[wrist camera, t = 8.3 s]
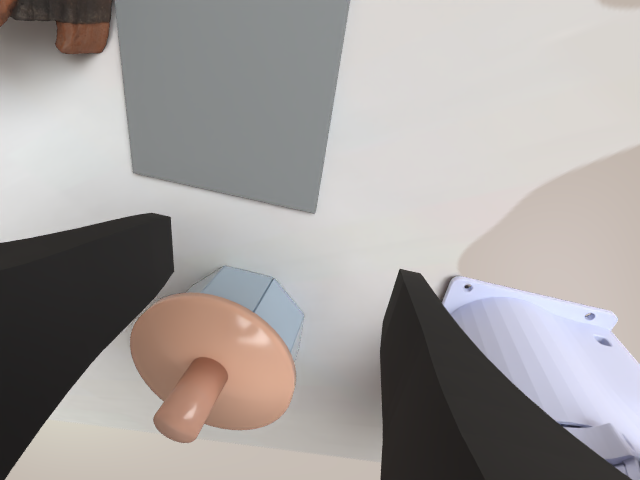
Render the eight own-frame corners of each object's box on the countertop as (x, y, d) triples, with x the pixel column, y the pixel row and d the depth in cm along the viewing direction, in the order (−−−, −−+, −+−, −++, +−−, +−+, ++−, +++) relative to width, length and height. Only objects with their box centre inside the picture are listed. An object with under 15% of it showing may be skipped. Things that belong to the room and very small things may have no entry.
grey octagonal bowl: (309, 286, 23) (289, 335, 19) (294, 374, 27) (275, 431, 23) (191, 257, 24) (145, 297, 20) (193, 346, 28) (156, 396, 24)
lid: (303, 314, 18) (278, 380, 14) (290, 434, 23) (269, 508, 19) (126, 276, 19) (59, 327, 15) (149, 397, 24) (103, 460, 20)
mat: (355, -33, 15) (354, -36, 15) (315, 211, 21) (314, 213, 20) (113, -68, 16) (107, -72, 16) (137, 171, 22) (132, 172, 21)
